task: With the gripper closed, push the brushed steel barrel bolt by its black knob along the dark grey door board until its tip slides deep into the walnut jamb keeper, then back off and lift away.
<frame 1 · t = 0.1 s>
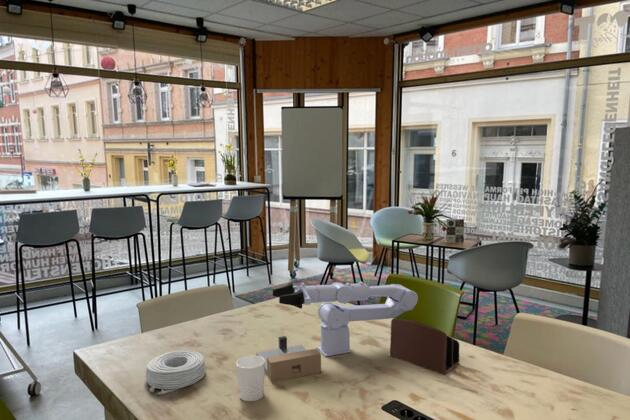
hand: (276, 296, 145), 22 cm above the table, tool horizontal, fingers open, 7 cm apart
white cup: (251, 395, 127), on the table
letter holder: (423, 361, 147), on the table
door and jamb: (289, 366, 143), on the table
bolt: (285, 349, 146), point 4 cm above the table, slide at 0.0 cm
cable: (176, 378, 137), on the table
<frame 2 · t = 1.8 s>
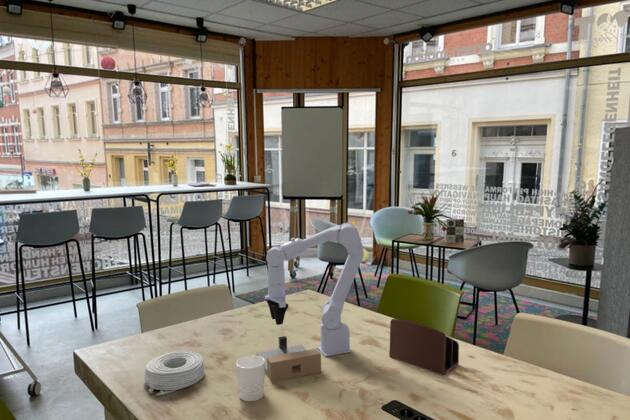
hand: (277, 321, 154), 10 cm above the table, tool pointing down, fingers open, 5 cm apart
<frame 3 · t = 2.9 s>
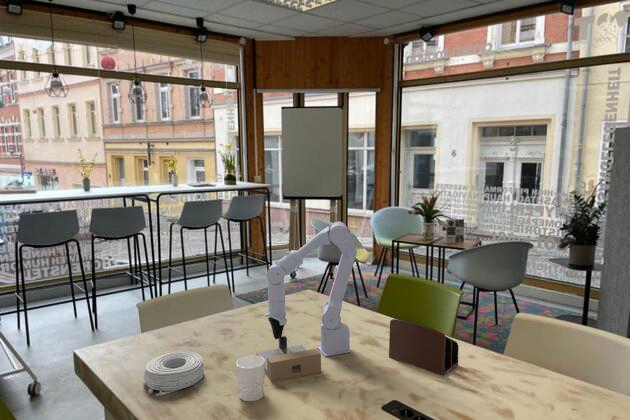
hand: (277, 338, 155), 4 cm above the table, tool pointing down, fingers closed
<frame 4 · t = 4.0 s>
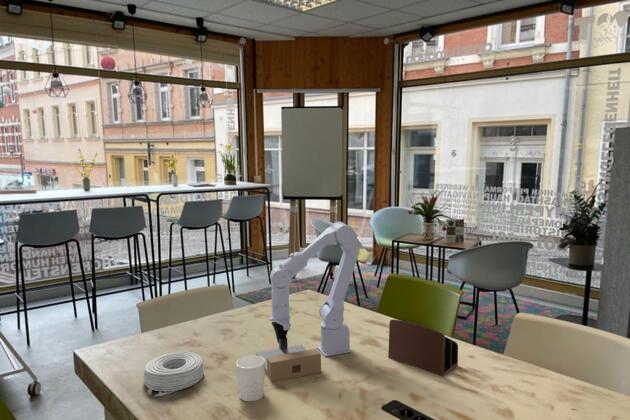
hand: (281, 343, 150), 4 cm above the table, tool pointing down, fingers closed
bolt: (286, 350, 145), point 4 cm above the table, slide at 0.6 cm, touching gripper
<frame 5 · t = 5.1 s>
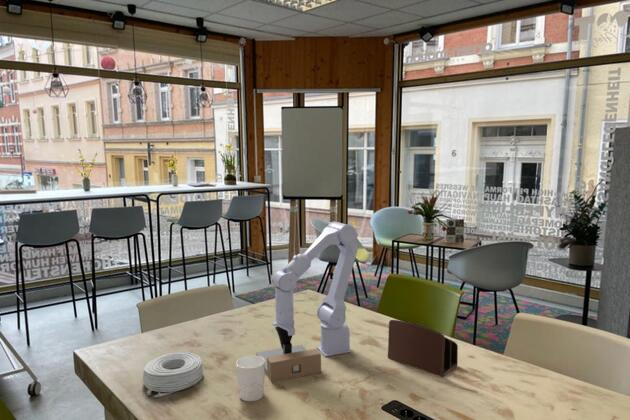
hand: (285, 348, 146), 4 cm above the table, tool pointing down, fingers closed
bolt: (290, 356, 141), point 4 cm above the table, slide at 5.2 cm, touching gripper
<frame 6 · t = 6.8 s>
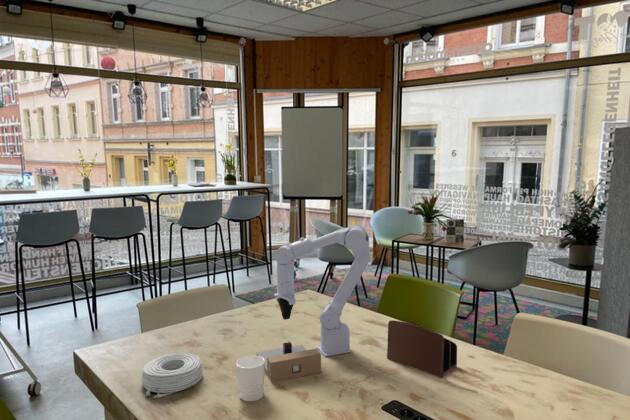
hand: (286, 318, 156), 10 cm above the table, tool pointing down, fingers closed
bolt: (290, 356, 141), point 4 cm above the table, slide at 5.2 cm
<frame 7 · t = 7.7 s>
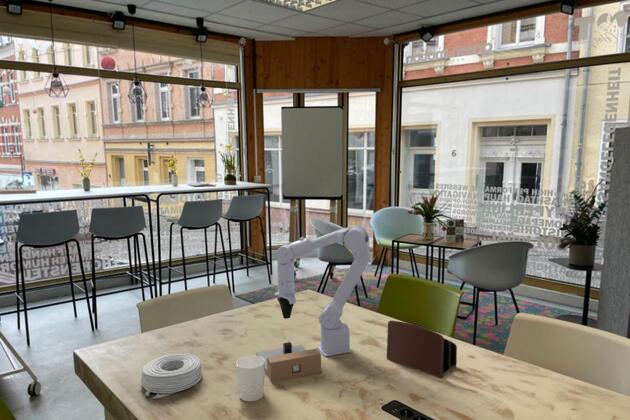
hand: (286, 317, 157), 10 cm above the table, tool pointing down, fingers closed
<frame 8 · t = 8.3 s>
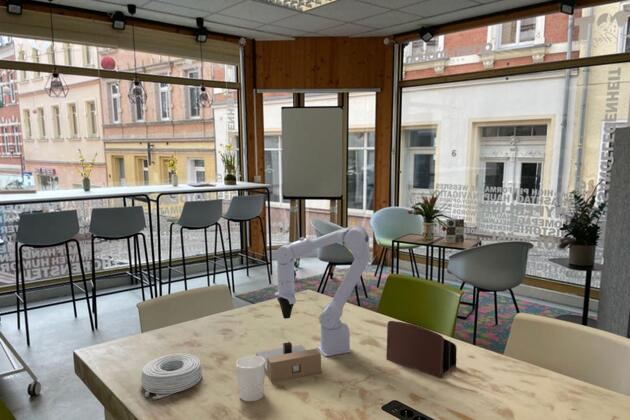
hand: (286, 317, 157), 10 cm above the table, tool pointing down, fingers closed
at the end: bolt slide at 5.2 cm; the gripper is holding nothing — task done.
